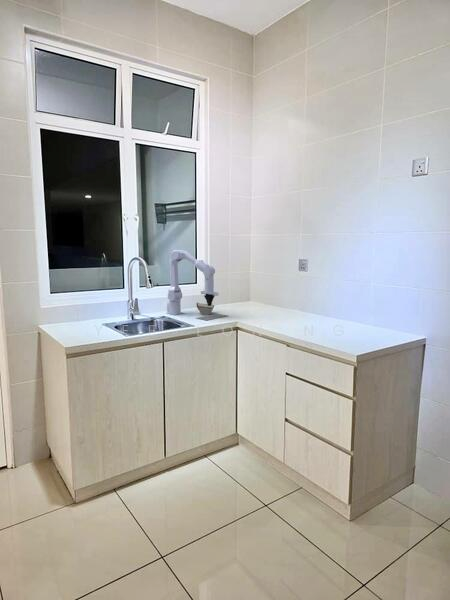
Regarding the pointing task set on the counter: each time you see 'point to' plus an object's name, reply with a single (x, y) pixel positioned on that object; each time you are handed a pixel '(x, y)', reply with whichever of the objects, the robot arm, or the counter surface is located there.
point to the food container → (205, 308)
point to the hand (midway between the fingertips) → (209, 305)
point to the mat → (212, 317)
